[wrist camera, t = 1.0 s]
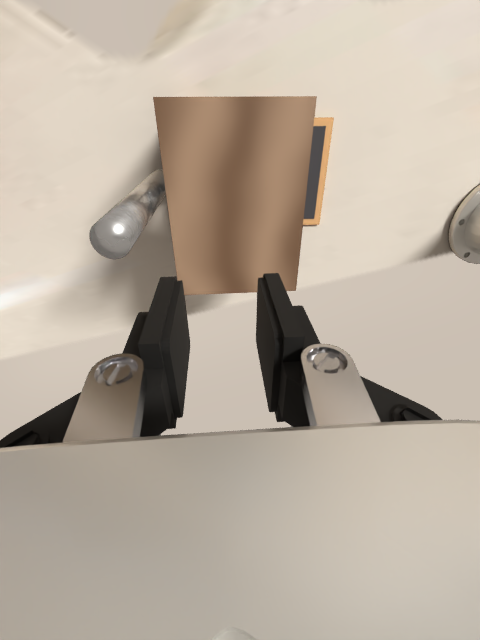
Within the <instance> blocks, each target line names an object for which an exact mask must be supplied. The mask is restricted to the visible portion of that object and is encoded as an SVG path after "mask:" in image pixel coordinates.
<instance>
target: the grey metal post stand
mask: <svg viewBox="0 0 480 640" xmlns="http://www.w3.org/2000/svg"><path fill="white" fill-rule="evenodd" d="M165 194H166V190H165V182H164V175H163V170H155V171H154V172H152V173H151V174H150V175H149V176H148V177H147V178H146V179H145V180H143V181H142V182H141V183H140V184H139V185H138V186H137V187H136V188H134V189H133V190H132V191H131V192H130V193H129V194H128V195H127V196H126V197H124V198H123V199H122V200H121V201H120V202H119V203H118V204H117V205H115V206H114V207H113V208H112V209H111V210H110V211H109V212H108V213H106V214H105V215H104V216H103V217H102V218H101V219H100V220H99V221H97V222H96V223H95V224H94V225H93V226H92V228H91V230H90V241H91V244H92V246H93V248H94V249H95V250H96V251H97V252H98V253H99V254H101V255H102V256H104V257H106V258H110V259H119V258H122V257H124V256H126V255H127V254H128V253H129V251H130V250H131V248H132V246H133V245H134V243H135V242H136V240H137V239H138V237H139V235H140V234H141V232H142V231H143V229H144V227H145V226H146V224H147V223H148V221H149V220H150V218H151V216H152V215H153V213H154V212H155V210H156V209H157V207H158V205H159V204H160V202H161V201H162V199H163V198H164V196H165Z"/></svg>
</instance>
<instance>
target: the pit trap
mask: <svg viewBox="0 0 480 640" xmlns="http://www.w3.org/2000/svg"><path fill="white" fill-rule="evenodd" d="M333 120H334V118H314V125H313V135H312V144H311V153H310V163H309V172H308V181H307V191H306V200H305V209H304V219H303V225H315V224H319V222H320V215H321V208H322V200H323V193H324V186H325V178H326V171H327V164H328V156H329V149H330V142H331V134H332V127H333Z"/></svg>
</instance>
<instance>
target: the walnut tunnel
mask: <svg viewBox="0 0 480 640" xmlns="http://www.w3.org/2000/svg"><path fill="white" fill-rule="evenodd" d="M316 97H317V96H305V97H153V100H154V107H155V115H156V122H157V130H158V137H159V145H160V152H161V160H162V167H163V175H164V182H165V190H166V197H167V205H168V212H169V220H170V227H171V235H172V242H173V250H174V258H175V265H176V273H177V280H178V281H179V280H182V282H183V288H184V295H197V294H222V293H248V292H257V287H258V278H261V277H263V274H265V273H279V275H280V277H281V280H282V282H283V285H284V287H285V289H286V291H296V284H297V275H298V266H299V256H300V247H301V238H302V228H303V219H304V209H305V200H306V191H307V181H308V172H309V163H310V153H311V144H312V135H313V125H314V116H315V107H316Z"/></svg>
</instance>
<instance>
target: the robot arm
mask: <svg viewBox="0 0 480 640" xmlns="http://www.w3.org/2000/svg"><path fill="white" fill-rule="evenodd" d="M449 243H450V247H451V249H452V251H453V252H454V253H455V254H456V256H458V257H459V258H461V259H462V260H464V261H467V262H469V263H475V264H480V185H479V186H477V187H476V188H475V189H474V190H473V191H472V192H471V193H470V194H469V195H468V196H467V197H466V198H465V199H464V201H463V202H462V203H461V204H460V206H459V208H458V209H457V211H456V213H455V215H454V217H453V219H452V222H451V225H450V229H449ZM256 324H257V325H256V326H257V327H256V342H257V349H258V354H259V360H260V365H261V371H262V376H263V381H264V387H265V392H266V398H267V402H268V408H269V412H275V414H276V420H277V422H283V421H285V422H287V423H288V424H290V425H291V427H288V428H273V429H256V430H240V431H224V432H210V433H194V434H178V435H164V436H161V433H162V432H163V431H165V430H166V429H172V428H176V420H177V418H180V417H182V416H183V408H184V399H185V390H186V381H187V371H188V362H189V352H190V337H189V329H188V321H187V313H186V305H185V296H184V288H183V282H182V280H179V281H177V278H176V277H161V278H160V280H159V283H158V286H157V289H156V292H155V295H154V298H153V301H152V304H151V307H150V310H149V312H140V313H138V315H137V317H136V320H135V322H134V325H133V328H132V330H131V333H130V335H129V338H128V340H127V343H126V346H125V348H124V351H123V353H122V354H116V355H112V356H109V357H106V358H104V359H102V360H101V361H99V362H98V363H96V365H94V366H93V367H92V369H91V370H90V372H89V374H88V376H87V379H86V381H85V384H84V387H83V389H82V392H80V393H78V394H77V395H75V396H73V397H72V398H70V399H68V400H66V401H65V402H63V403H61V404H60V405H58V406H56V407H54V408H53V409H51V410H49V411H47V412H46V413H44V414H42V415H41V416H39V417H37V418H35V419H34V420H32V421H30V422H29V423H27V424H25V425H23V426H22V427H20V428H18V429H16V430H15V431H13V432H11V433H10V434H8V435H7V436H6V437H4V438H3V439H1V440H0V640H480V421H471V420H442V419H441V418H440V417H439V416H438V415H437V414H435V413H434V412H433V411H431V410H430V409H428V408H426V407H424V406H422V405H420V404H418V403H416V402H414V401H412V400H410V399H408V398H406V397H403V396H401V395H399V394H397V393H395V392H393V391H391V390H389V389H386V388H384V387H382V386H380V385H378V384H376V383H374V382H372V381H370V380H367V379H365V378H363V377H361V376H360V375H359V373H358V370H357V368H356V366H355V364H354V362H353V360H352V358H351V357H350V355H349V354H348V353H347V352H345V351H344V350H343V349H341V348H339V347H337V346H333V345H330V344H320V342H319V340H318V338H317V335H316V333H315V331H314V329H313V327H312V325H311V323H310V321H309V318H308V316H307V314H306V312H305V310H304V308H303V306H292V304H291V302H290V299H289V297H288V294H287V292H286V289H285V287H284V285H283V282H282V280H281V277H280V275H279V273H265V274H263V277H261V278H258V287H257V323H256Z"/></svg>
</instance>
